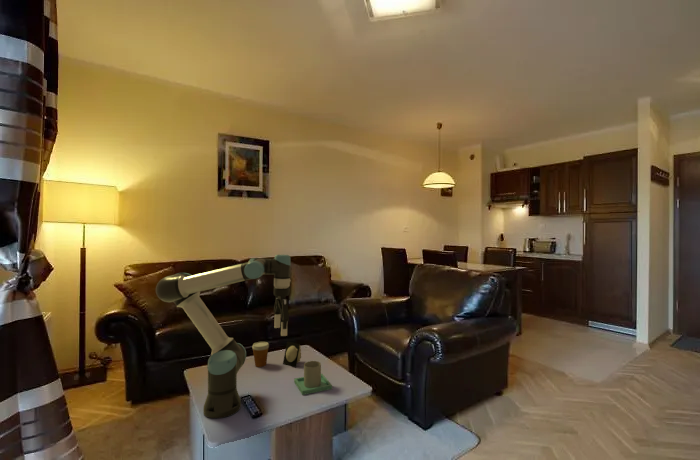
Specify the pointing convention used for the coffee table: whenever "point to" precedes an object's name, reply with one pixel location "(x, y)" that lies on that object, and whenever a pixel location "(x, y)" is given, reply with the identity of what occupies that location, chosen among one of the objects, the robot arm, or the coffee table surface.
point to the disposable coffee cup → (260, 353)
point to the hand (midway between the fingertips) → (280, 331)
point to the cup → (312, 374)
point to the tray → (304, 390)
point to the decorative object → (292, 354)
